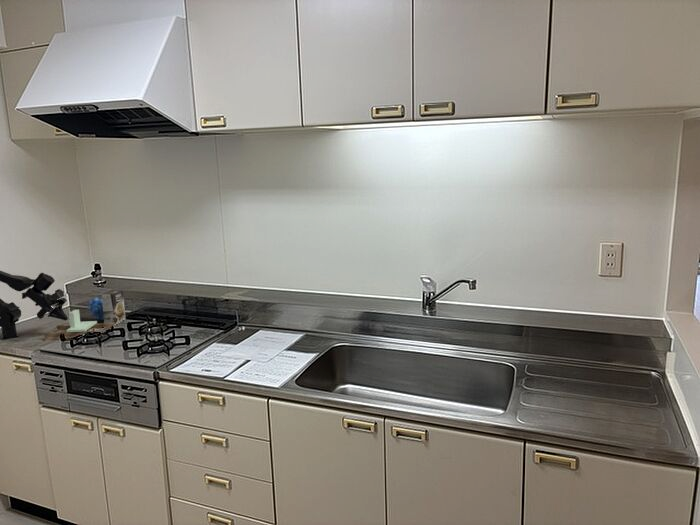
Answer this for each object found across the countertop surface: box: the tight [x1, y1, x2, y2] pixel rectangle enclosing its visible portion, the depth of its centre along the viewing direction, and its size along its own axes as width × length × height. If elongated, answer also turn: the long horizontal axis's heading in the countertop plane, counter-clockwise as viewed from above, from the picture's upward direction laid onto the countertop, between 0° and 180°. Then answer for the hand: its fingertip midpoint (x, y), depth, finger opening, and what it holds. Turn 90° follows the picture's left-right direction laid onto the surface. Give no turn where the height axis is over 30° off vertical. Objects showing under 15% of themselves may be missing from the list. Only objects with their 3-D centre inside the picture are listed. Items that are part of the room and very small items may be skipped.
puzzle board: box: [43, 322, 116, 341], centre depth 241 cm, size 26×16×3 cm, turn 95°
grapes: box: [88, 296, 104, 321], centre depth 263 cm, size 12×7×12 cm, turn 80°
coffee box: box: [101, 289, 126, 326], centre depth 258 cm, size 9×6×16 cm
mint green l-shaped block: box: [67, 309, 98, 332], centre depth 241 cm, size 8×14×8 cm, turn 5°
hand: (67, 319), depth 240 cm, fingers closed
